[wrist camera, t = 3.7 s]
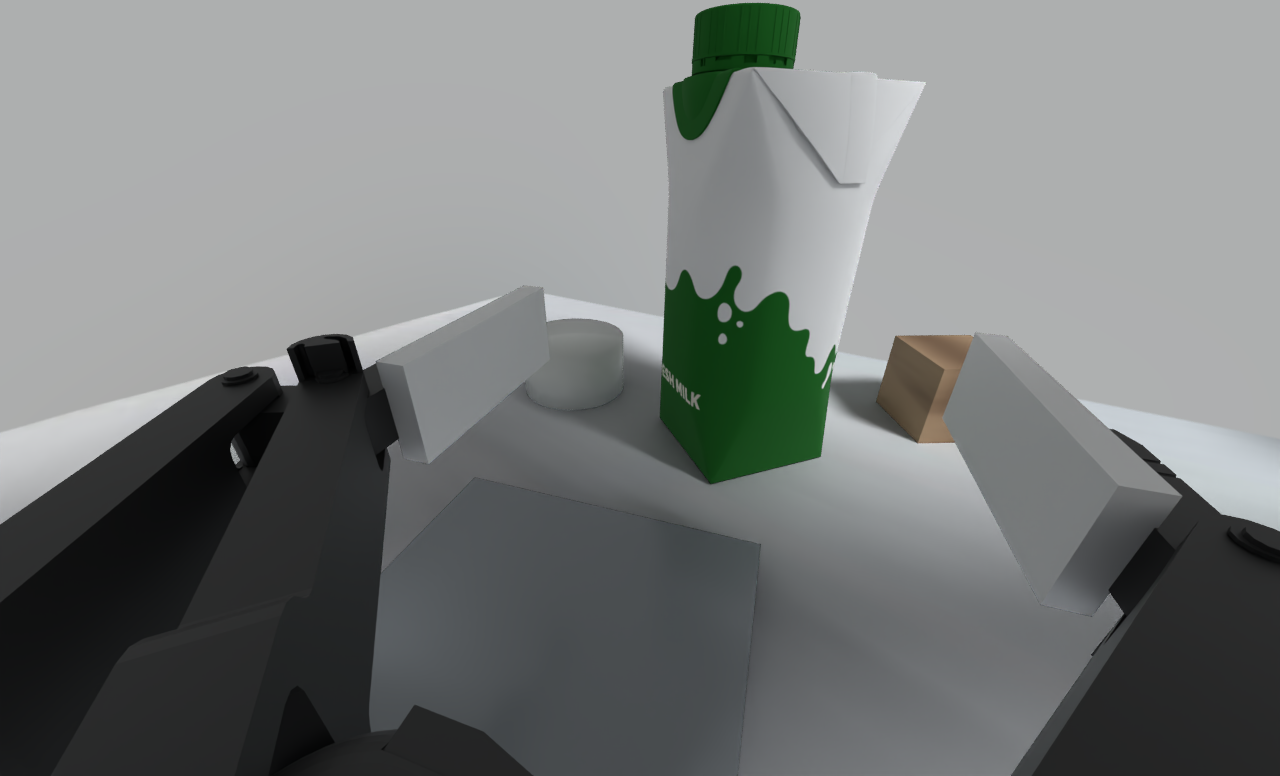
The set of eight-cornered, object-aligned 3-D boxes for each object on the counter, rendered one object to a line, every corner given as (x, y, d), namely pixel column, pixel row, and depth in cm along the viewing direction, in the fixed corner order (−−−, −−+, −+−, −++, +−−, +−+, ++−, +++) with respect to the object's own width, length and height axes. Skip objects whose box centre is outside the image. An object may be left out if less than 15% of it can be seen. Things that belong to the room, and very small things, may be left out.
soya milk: (641, 413, 30) (647, 32, 20) (759, 392, 33) (812, 48, 23) (703, 501, 23) (758, -26, 13) (847, 463, 26) (977, 8, 16)
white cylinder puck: (635, 373, 35) (636, 324, 34) (602, 419, 30) (601, 363, 28) (554, 361, 37) (550, 314, 35) (507, 401, 31) (500, 348, 29)
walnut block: (944, 401, 32) (970, 335, 30) (997, 442, 28) (1031, 368, 25) (875, 402, 32) (895, 335, 29) (917, 444, 27) (944, 369, 25)
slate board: (757, 557, 20) (760, 544, 19) (694, 1181, 8) (697, 1179, 7) (477, 489, 23) (474, 477, 23) (143, 846, 11) (126, 833, 11)
